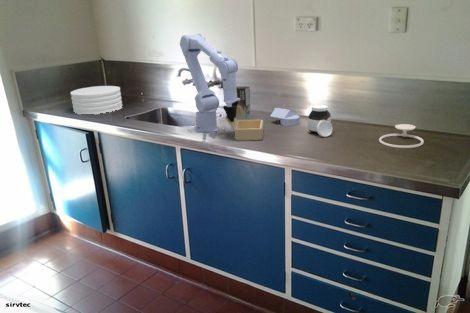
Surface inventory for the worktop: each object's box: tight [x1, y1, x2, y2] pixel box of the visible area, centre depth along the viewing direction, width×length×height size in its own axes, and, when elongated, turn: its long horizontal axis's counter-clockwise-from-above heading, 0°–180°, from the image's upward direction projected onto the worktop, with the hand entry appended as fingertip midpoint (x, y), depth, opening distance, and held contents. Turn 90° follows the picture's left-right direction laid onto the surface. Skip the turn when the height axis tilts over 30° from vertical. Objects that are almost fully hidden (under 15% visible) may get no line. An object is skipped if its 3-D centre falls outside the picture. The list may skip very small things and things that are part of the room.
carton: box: [234, 119, 264, 141], centre depth 192 cm, size 11×16×5 cm
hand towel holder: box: [378, 123, 425, 149], centre depth 176 cm, size 17×4×21 cm
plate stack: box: [70, 85, 123, 115], centre depth 258 cm, size 28×28×12 cm
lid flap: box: [224, 114, 238, 130], centre depth 192 cm, size 6×14×1 cm
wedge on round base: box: [270, 107, 300, 127], centre depth 209 cm, size 9×7×13 cm
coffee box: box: [235, 85, 252, 121], centre depth 219 cm, size 9×6×16 cm
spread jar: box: [307, 104, 333, 138], centre depth 189 cm, size 12×11×12 cm
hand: (232, 119), depth 191 cm, fingers open, 7 cm apart
